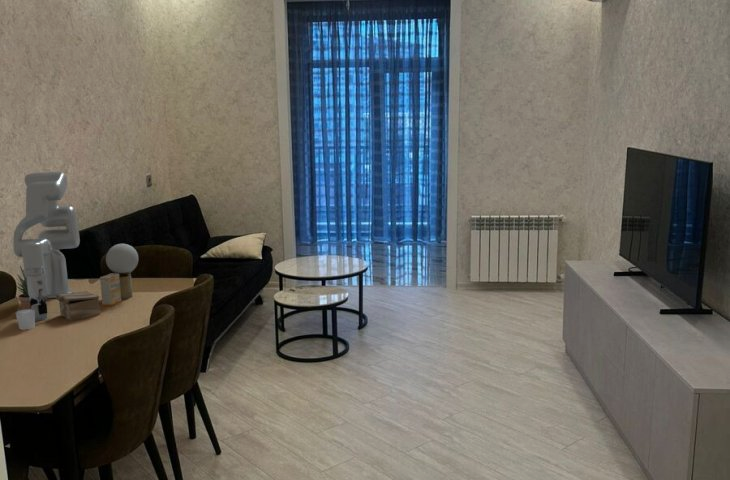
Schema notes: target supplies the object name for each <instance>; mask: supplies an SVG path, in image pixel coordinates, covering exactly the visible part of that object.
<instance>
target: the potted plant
mask: <svg viewBox="0 0 730 480" xmlns="http://www.w3.org/2000/svg"><path fill="white" fill-rule="evenodd" d="M19 269H20V272H21V274H22V277H23V278H24V279H23V278H22V277H21V276H20V275H19V274H18V273H17V274H16V275H17V277H18V279H19V282H20V283H19V282H18V283H17V284H18V285H16V288H18V291H19V292H21V294H19V295H18V300H19V302H20V304H21V306H22V310H24V309H31V307H30V300H29V298H30V297H29V294H28V287H27V277H25V273H24V269H23V267H22V266H21V265H19ZM19 286H20V287H19ZM40 301H41V300H40Z"/></svg>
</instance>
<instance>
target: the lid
mask: <svg viewBox="0 0 730 480" xmlns="http://www.w3.org/2000/svg"><path fill="white" fill-rule="evenodd" d="M96 298H100V297H99V295H96V294H95V293H92V292H89V291H88V290H87V291H86V290H85V291H79V292H73V293H66V294H58V295H57V298H56V300H57V301H58V302H59V301H61V302H63V303H65V304H67V305H69V301H77V300H86V299H96Z"/></svg>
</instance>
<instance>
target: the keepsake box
mask: <svg viewBox="0 0 730 480" xmlns="http://www.w3.org/2000/svg"><path fill="white" fill-rule="evenodd" d="M99 298H100V297H99ZM99 298H96V299H86V300H77V301H69V305H67V304H65V303H63V302H61V301H59V300H58V302H59V304H58V305H59V310H60V311H59V312H60V316H62V317H64V318H65V319H68V320H70V321H76V320H80V319H85V318H88V317H94V316H99V315H101V311H100V299H99Z"/></svg>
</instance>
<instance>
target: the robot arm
mask: <svg viewBox="0 0 730 480" xmlns="http://www.w3.org/2000/svg"><path fill="white" fill-rule="evenodd" d="M24 184H25V186H26V188H25V216H24V217H23V218H22V219H21V220H20V221H19V223H18V224H17V225H16V227H15V230H14V231H13V241H12V246H13V254H14V255H15V257H17V258H22V261H23V262H22V263H23V270H24V273H25V277H27V287H28V294H29V297H30V298H29V300H30V307H31V306H32V305H34V304H39V305H38V310H39V314H40V315H41V314H46V313H47V314H48V306H47V299H57V295H58V294H66V293H74V292H73V290H72V289H69V282H68V281H69V280H68V271H67V262H66V257H65V255H64V254H63V253H62V252H61V250H63V249H64V250H65V249H67V250H68V249H76V248H78V247H79V245H80V242H81V239H80V232H79V224H78V217H77V212H76V210H75V208H74V207H73V206H71V205H59V204H58V201H61V200H62V199H63V198H64V196H65V193H66V190H67V188H68V177H67V175H66V174H65V173H64V172H61V171H54V172H53V171H52V172H33V173H28V174H26V175H25V176H24ZM38 224H40V225H41V226H42V227H44V228H49V229H44V230H42V231H40V232H39V234H38V238H27V239H23V236H24V234H25V232H27V230H29V229H30V228H32V227H34V226H36V225H38ZM59 227H64V228H59ZM65 227H66V228H65ZM50 228H51V229H50ZM40 300H41V301H40Z"/></svg>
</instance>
